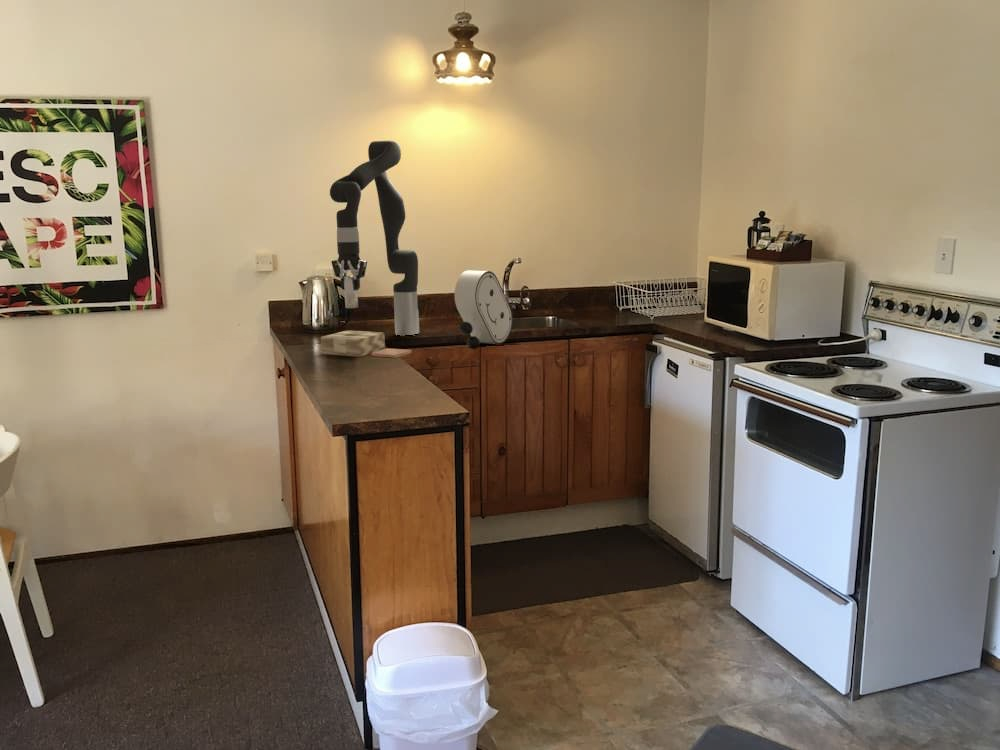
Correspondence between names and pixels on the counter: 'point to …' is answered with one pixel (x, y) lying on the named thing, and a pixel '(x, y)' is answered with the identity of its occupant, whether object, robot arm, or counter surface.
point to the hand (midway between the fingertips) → (350, 289)
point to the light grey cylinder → (350, 293)
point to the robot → (482, 308)
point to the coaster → (391, 353)
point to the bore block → (352, 343)
